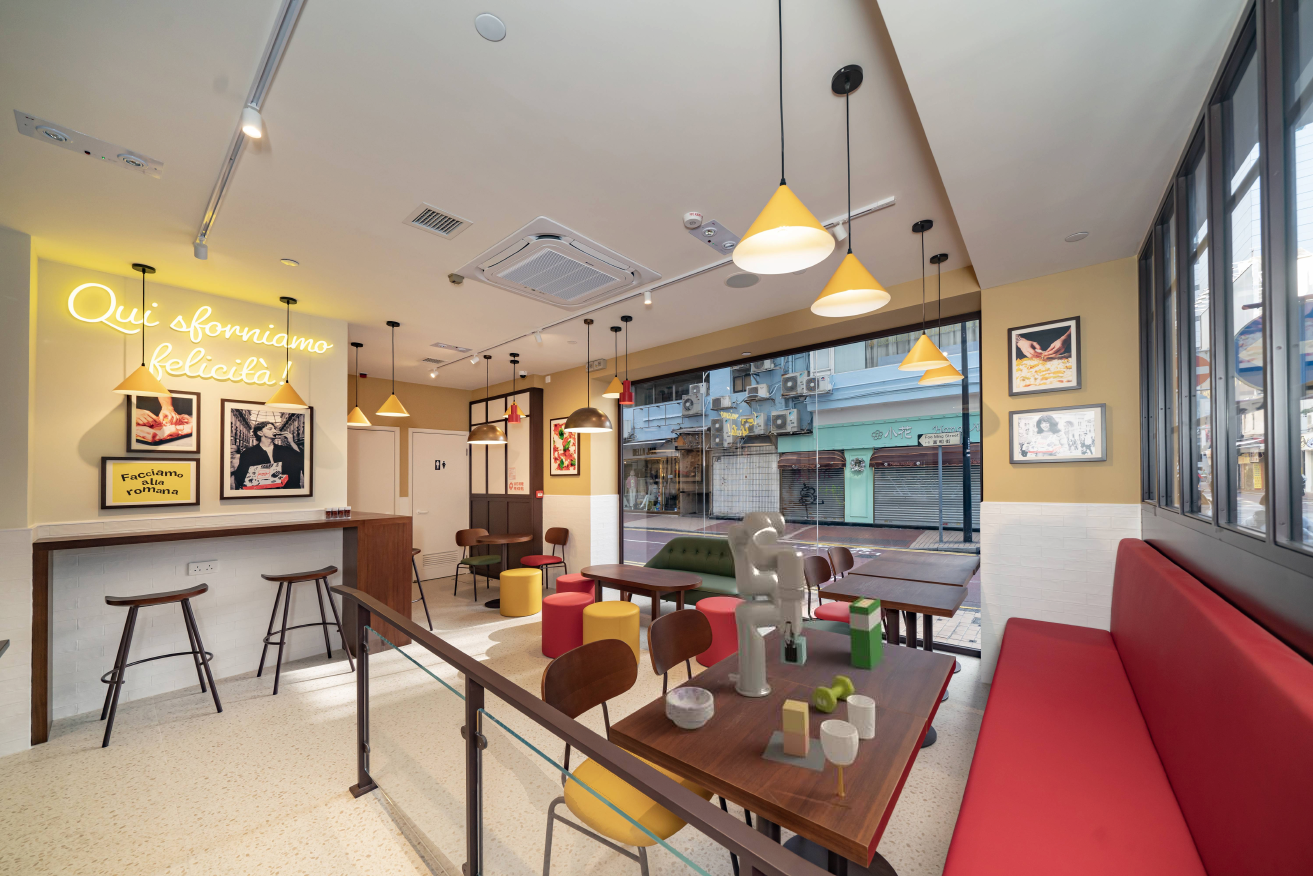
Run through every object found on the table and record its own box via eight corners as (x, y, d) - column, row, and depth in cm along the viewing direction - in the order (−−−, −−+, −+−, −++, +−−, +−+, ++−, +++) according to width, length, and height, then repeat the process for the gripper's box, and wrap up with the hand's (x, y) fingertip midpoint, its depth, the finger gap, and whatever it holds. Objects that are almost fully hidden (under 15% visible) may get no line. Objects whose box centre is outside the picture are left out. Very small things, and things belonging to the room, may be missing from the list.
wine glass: (853, 814, 116) (850, 741, 117) (815, 797, 122) (812, 729, 123) (867, 795, 123) (864, 726, 124) (830, 780, 129) (828, 715, 130)
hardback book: (864, 653, 218) (862, 596, 220) (882, 656, 214) (880, 598, 215) (851, 665, 204) (849, 605, 206) (871, 670, 200) (868, 608, 201)
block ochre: (783, 730, 141) (782, 708, 142) (787, 720, 147) (786, 699, 147) (805, 734, 139) (804, 712, 139) (808, 724, 144) (808, 703, 144)
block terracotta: (783, 752, 141) (783, 730, 141) (788, 742, 146) (787, 720, 147) (805, 757, 138) (805, 734, 139) (809, 746, 144) (808, 724, 144)
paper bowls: (674, 737, 151) (673, 710, 152) (660, 714, 166) (660, 689, 166) (721, 729, 155) (720, 703, 156) (704, 708, 170) (703, 683, 170)
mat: (761, 759, 138) (761, 757, 138) (774, 732, 153) (774, 730, 153) (822, 774, 132) (822, 771, 132) (830, 744, 146) (830, 741, 146)
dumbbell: (833, 716, 163) (832, 693, 163) (810, 708, 168) (810, 686, 169) (857, 700, 174) (856, 678, 174) (835, 693, 180) (834, 672, 180)
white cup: (874, 745, 145) (872, 708, 146) (845, 737, 149) (844, 702, 150) (878, 732, 152) (876, 698, 152) (851, 726, 156) (849, 692, 157)
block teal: (781, 662, 142) (780, 640, 143) (785, 655, 148) (784, 634, 148) (802, 665, 140) (802, 643, 140) (806, 658, 145) (805, 637, 146)
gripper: (784, 586, 155) (786, 646, 153) (771, 598, 139) (773, 666, 138) (809, 588, 151) (812, 649, 150) (799, 601, 136) (801, 670, 135)
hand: (793, 657), depth 144 cm, fingers closed on block teal, 6 cm apart
